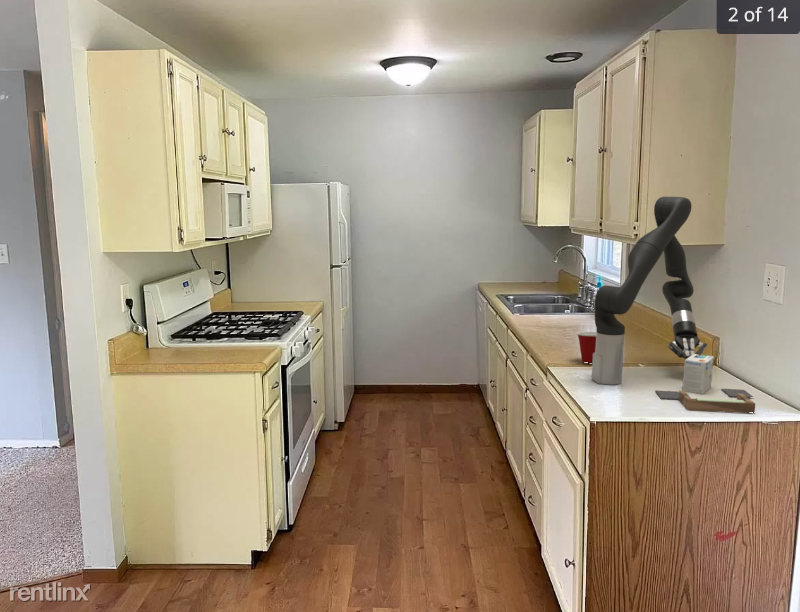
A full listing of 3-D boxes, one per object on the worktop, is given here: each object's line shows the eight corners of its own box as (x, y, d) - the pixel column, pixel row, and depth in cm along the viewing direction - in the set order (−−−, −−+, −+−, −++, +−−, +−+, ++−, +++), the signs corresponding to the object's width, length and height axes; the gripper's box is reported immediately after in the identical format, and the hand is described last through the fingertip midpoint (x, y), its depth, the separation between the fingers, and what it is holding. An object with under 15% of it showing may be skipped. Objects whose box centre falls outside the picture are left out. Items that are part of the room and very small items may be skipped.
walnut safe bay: (678, 399, 193) (679, 389, 192) (741, 403, 189) (742, 392, 189) (687, 409, 183) (688, 399, 182) (754, 413, 180) (755, 402, 179)
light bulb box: (690, 383, 210) (692, 353, 209) (711, 387, 206) (714, 356, 204) (681, 390, 202) (684, 359, 200) (703, 394, 198) (706, 362, 196)
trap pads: (651, 386, 207) (651, 385, 206) (744, 391, 202) (744, 389, 202) (661, 399, 193) (661, 397, 193) (761, 404, 188) (761, 402, 188)
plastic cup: (598, 359, 244) (600, 329, 242) (608, 365, 233) (610, 335, 232) (571, 359, 244) (572, 329, 242) (580, 366, 233) (581, 335, 231)
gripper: (666, 319, 219) (673, 360, 209) (706, 320, 217) (714, 362, 207) (662, 330, 225) (668, 371, 215) (700, 332, 223) (708, 373, 213)
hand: (691, 367), depth 211 cm, fingers closed
